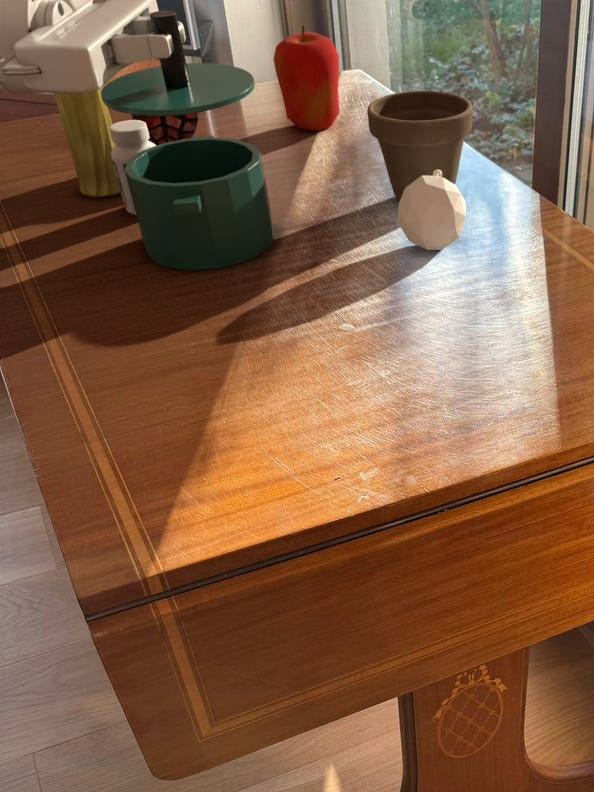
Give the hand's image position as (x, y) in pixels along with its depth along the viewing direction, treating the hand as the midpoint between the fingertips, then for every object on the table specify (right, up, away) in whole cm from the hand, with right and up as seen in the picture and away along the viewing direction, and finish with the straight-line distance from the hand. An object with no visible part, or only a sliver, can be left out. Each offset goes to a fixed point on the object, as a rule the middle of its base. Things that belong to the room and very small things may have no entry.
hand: (176, 39), depth 92 cm
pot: (-1, -13, +14) cm, 20 cm away
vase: (-17, -2, +26) cm, 31 cm away
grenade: (-11, +6, +34) cm, 36 cm away
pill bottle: (-10, -6, +22) cm, 25 cm away
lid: (-1, -3, +3) cm, 4 cm away
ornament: (+24, -15, +12) cm, 31 cm away
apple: (+6, +13, +41) cm, 43 cm away
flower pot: (+22, -5, +22) cm, 32 cm away
